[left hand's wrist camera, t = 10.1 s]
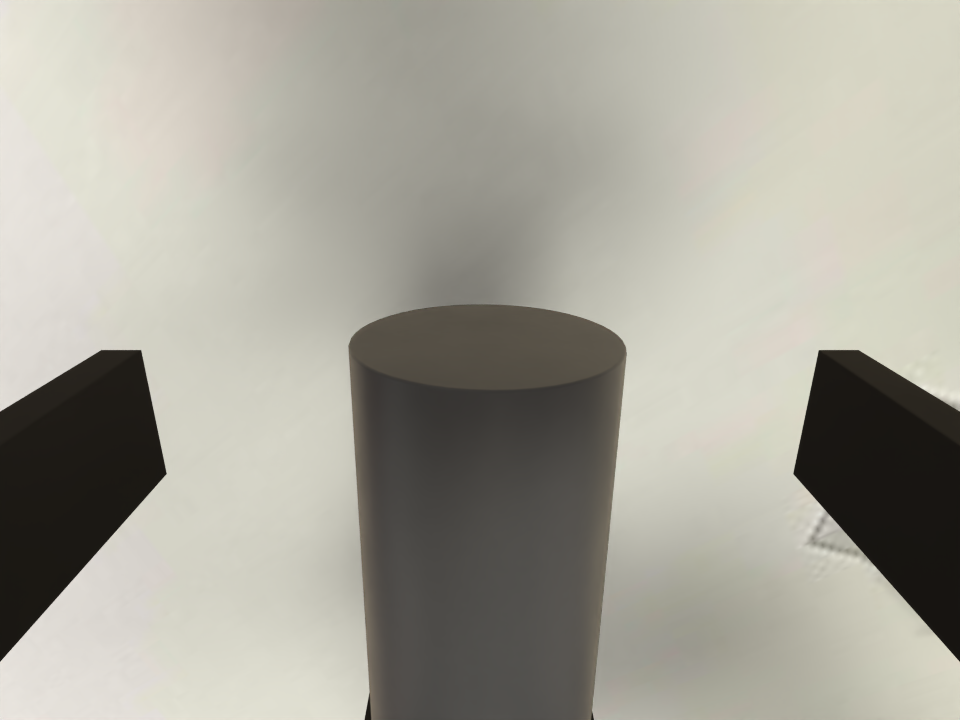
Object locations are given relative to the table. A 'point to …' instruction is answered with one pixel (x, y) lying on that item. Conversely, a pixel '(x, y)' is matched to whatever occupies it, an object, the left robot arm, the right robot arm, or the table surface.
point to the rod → (484, 508)
